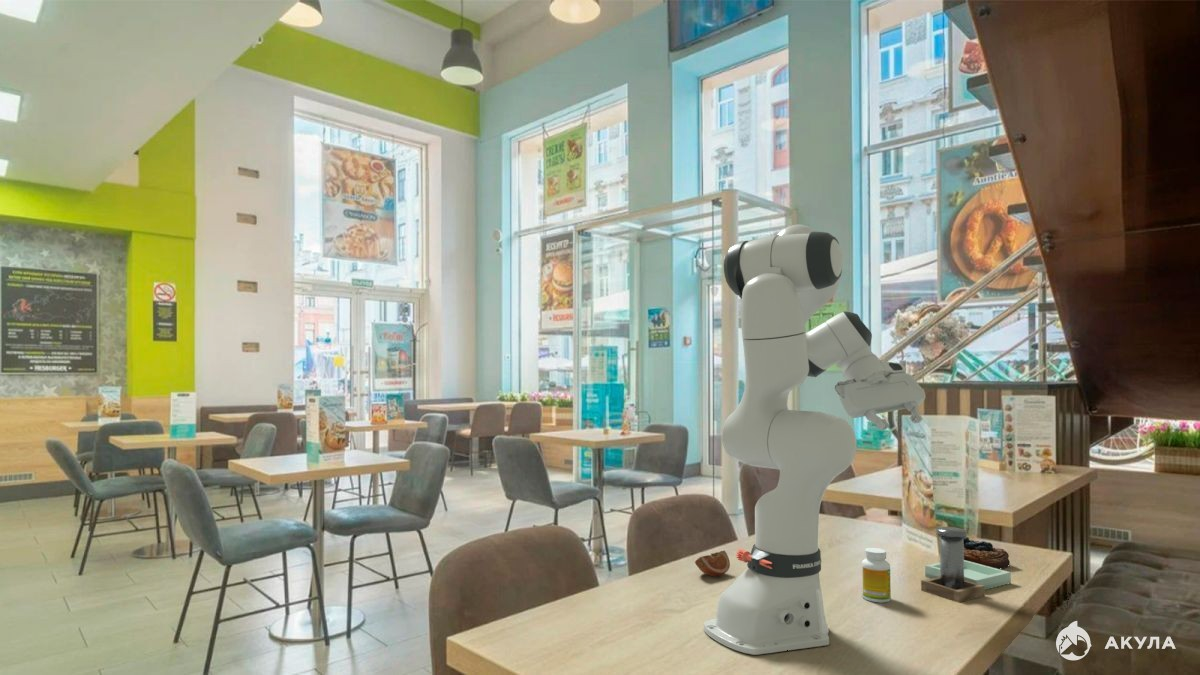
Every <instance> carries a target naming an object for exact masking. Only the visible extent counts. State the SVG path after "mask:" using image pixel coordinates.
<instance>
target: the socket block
mask: <svg viewBox="0 0 1200 675" xmlns="http://www.w3.org/2000/svg"><path fill="white" fill-rule="evenodd" d="M920 586H921V588H920V590H921V591H923V592H926V593H929V594H933V595H934V596H938V597H941V598H945V599H947V600H951V601H953V602H957V603H962V602H966V601H969V600H970V601H971V600H973V599H977V598H981V597H984V596H985V590H984V586H983V585H980V584H976V583H973V582H969V581H966V580H964V588H963V589H959V590H956V589H952V588H949V587H946V586H943V585H941V577H940V576H939V577H935V578H926V579H922V580H921V581H920Z"/></svg>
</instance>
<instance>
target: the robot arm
mask: <svg viewBox="0 0 1200 675" xmlns="http://www.w3.org/2000/svg"><path fill="white" fill-rule="evenodd" d="M843 266H844V254H843V250H842V247H841V246H840V243H839V241H838V239H837V238H836V236H834V235H832V234H831V233H829V232H825V231H815V230H814V229H813V228H812V227H810V226H808V225H805V224H793V225H789V226H787V227H785V228H783V229H782V230H780V231H779V232H778V233H777V234H776V235H769V236H765V237H761V238H757V239H753V240H750V241H748V240H745V241H744V240H743V241H742V242H739V243H736V244H733V245H732V246H731V247H730V248H729V249H728V251H727V252H726V254H725V256H724V260H723V272H724V278H725V281H726V284H727V286H728V287H729V289H730V290H731V291H732V292H733V293H734V294H735V295H737V296H739V298H740V300H741V306H740V311H741V312H740V322H741V323H740V324H741V325H740V326H741V337H742V343H743V344H742V345H743V356H744V370H745V382H744V383H745V384H744V389H743V393H742V397H741V399H740V401H739V403H738V405H737V406H736V408H735V409H734V410H733V412H731V413H730V414H729V415H728V416H727V418H726V419H725V421H724V424H723V426H722V429H721V442H722V445H723V449H724V451H725V452H726V454H727V455H728V456H729V457H730V458H731V459H733V460H736V461H738V462H740V463H742V464H743V463H744V464H746V465H748V466H751V467H755V468H765V469H772V470H779V478H778V482H777V486H776V487H775V488H774V489H772V490H770V491H767V492H766V493H764V494H763V495H762V496H761V497H760V498H758V500H757V501H756V503H755V506H754V544H753V546H752V548H751V551H748V550H745V549H743V548H739V549H737V552H736V558H737V560H738V561H740V562H743V563H747V565H746V566H747V568H745V569H744V571H743V572H742V573H741V574H740V575H739V576H737V578H736V579H735V580H734V581H733V582H732V583H731V584H730V585H729V586H728V587H727V588H726V589H725V590H724V591H723V592H722V593H720V596H719V597H718V598H719V599H718V602H717V608H716V609H717V611H716V617H715V618H711V619H708V620H706V621H704V622H703V630H704V632H705V634H706V635H707V636H709V637H710V638H712V639H713V640H715V641H716V642H717V643H719V644H721V645H722V646H725V647H727V648H730V649H732V650H734V651H737V652H740V653H743V654H747V655H748V654H749V655H753V656H755V655H756V656H757V655H758V656H759V655H763V654H772V653H778V652H779V653H780V652H786V651H787V650H788V651H794V650H800V649H801V650H802V649H808V648H816V647H823V646H824V647H825V646H829V645H830V638H829V632H830V630H829V626H828V623H827V619H826V616H825V608H824V601H823V594H822V593H823V592H822V588H821V580H820V572H821V571H822V556H821V555H822V553H821V552H822V551H821V549H820V548H819V523H820V522H819V520H820V519H819V518H820V508H821V503H822V500H823V498H824V494H825V493H826V490H827V489H828V487H829V485H830V484H831V483H832V481H834V479H835V478H836V477H838V476H839V475H841V474H842V473H844V472H845V471H846V470H847V469H848V468H850V466H851V464H852V463H853V461H854V459H855V456H856V454H857V437H856V434H855V432H854V429H853V428H852V426H851V424H850V423H849V422H848V421H847V420H846V419H845V418H842V417H840V416H837V415H832V414H829V413H825V412H821V411H812V410H811V411H810V410H809V411H808V410H793V409H789V407H788V399H789V398H788V397H789V394H790V392H791V391H793V390H794V389H796V388H798V387H799V386H801V384H802V383H804V382H805V380H806V379H807V377H810V378H816V377H818V376H820V375H821V374H822V373H824V372H826V371H827V369H829V368H831V367H832V366H835V365H836V366H837V367H839V368H840V369H841V371H842V372H841V373H842V374H843V375H842V376H843V377H844V378H845V380H843V381H842V380H841V381H840V380H839V381H838V382H837V383H836V384H835V386H834V391H835V392H836V393H837V396H838V397H839V400H840V402H841V404H842V406H843V409H844V410H845V412H846V414H847V415H848V416H849V417H851V418H852V419H858V418H862V417H865V418H866V419H867V420H868V421H869V422H871V423H872V424H874V425H875V426H876V427H877V428H878V430H879V431H884V430H886V429H887V428H889V423H888V422H887V420H886V419H885V418H881V417H879V416H878V414H884V413H890V412H894V411H895V412H896V411H900V410H901V411H902V410H905V409H906V410H907V411H908V412H911V413H910V414H911V416H910V417H909V419H910V421H911V422H912V423H913V424H920V423H921V422H922V421H923V417H922V415H921V414H920V411H919V406H920V405H921V404H922V403H923V402H924V401H925V399H926V392H925V391H924V389H923V388H922V387H921V385H920V384H919V383H918V382H917V380H916V379H915V378H914V376H912V375H911V374H910V373H907V372H906V370H907V368H906V366H905V365H904V364H903V363H899V362H892V361H891V362H890V361H887V360H884V359H880V358H879V357H878V356H877V355H876V354H875V353H873V352H872V351H871V348H870V346H871V344H872V338H873V334H872V332H871V330H870V329H869V327H867V325H865V323H864V322H863V321H862V319H861V317H860V316H859V314H858V313H855V312H851V311H842V312H839V313H837V314H836V315H834V316H832V317H830V318H829V319H827V320H826V321H824V322H823V323H821V324H819V325H816V326H815V327H813V328H812V329H810V330H808V331H807V332H806V328H805V326H806V324H807V322H808V321H809V320H810V319H811V318H812V316H814V315H815V314H816V313H817V312H818V311H820V310H821V309H822V308H823V307H824V306H826V304H828V303H829V302H830V301H831V300H832V298H834V296H835V294H836V293H837V291H838V289H839V285H840V278H841V276H842V273H843V272H842V271H843Z"/></svg>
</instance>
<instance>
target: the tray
mask: <svg viewBox="0 0 1200 675" xmlns="http://www.w3.org/2000/svg"><path fill="white" fill-rule="evenodd" d="M924 569H925V570H924V571H925V572H924V573H925V575H924V576H925V577H927V578H928V579H930V578H935V577H939V576H940V562H935V563H931V564H926V565H924ZM1011 576H1012V574H1011V572H1010V571H1007V570H1003V569H996V568H992V567H989V566H985V565H981V564H977V563H974V562H970V561H966V560H964V580H966V581H969V582H973V583H976V584H980V585H983V586H984V591H986V590H990V588H991V589H994V587H995V588H997V586H999V587H1002V586H1001V585H1003V586H1005V585H1004V584H1007V585H1009V584H1008V583H1011V584H1012V581H1011V580H1012V577H1011Z"/></svg>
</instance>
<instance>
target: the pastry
mask: <svg viewBox="0 0 1200 675" xmlns="http://www.w3.org/2000/svg"><path fill="white" fill-rule="evenodd" d="M963 540H964V560H966V561H970V562H974V563H977V564H981V565H985V566H989V567H992V568H996V569H1000V568H1003V569H1005V568H1004V567H1006V568H1008V567H1007V566H1008V565H1010V564H1011V562H1010V559H1009V557H1010V555H1009V552H1007V551H1006V550H1005V549H1004V548H1000V547H994V544H992V542H987V541H982V540H981V541H979V540H975V539H974V540H973V539H970V538H969V537H965V538H963ZM1000 570H1001V569H1000Z"/></svg>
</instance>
